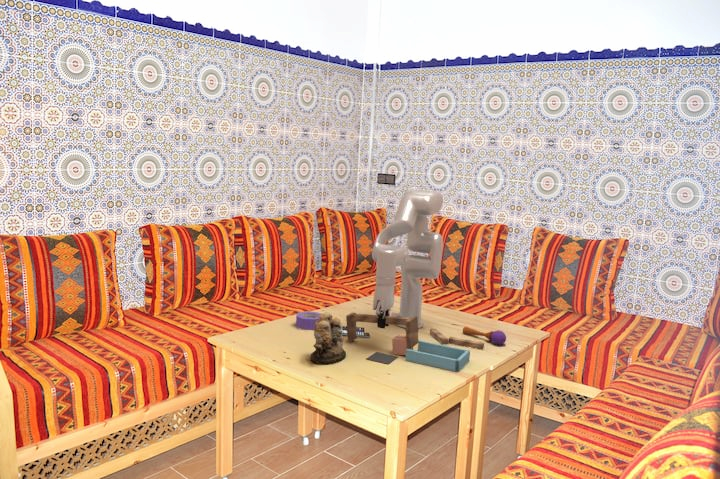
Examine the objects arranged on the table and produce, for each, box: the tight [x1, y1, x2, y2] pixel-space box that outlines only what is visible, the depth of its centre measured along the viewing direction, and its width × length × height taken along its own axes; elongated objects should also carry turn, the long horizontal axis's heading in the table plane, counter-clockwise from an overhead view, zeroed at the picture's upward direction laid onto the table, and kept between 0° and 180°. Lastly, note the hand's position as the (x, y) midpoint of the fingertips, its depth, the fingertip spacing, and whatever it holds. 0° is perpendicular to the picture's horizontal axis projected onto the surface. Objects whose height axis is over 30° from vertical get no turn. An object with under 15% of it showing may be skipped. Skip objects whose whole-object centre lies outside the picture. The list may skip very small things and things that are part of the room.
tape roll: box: [295, 311, 322, 331], centre depth 249 cm, size 12×12×5 cm
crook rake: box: [345, 312, 419, 349], centre depth 224 cm, size 28×8×10 cm, turn 63°
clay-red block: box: [391, 334, 414, 356], centre depth 220 cm, size 6×6×6 cm
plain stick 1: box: [429, 328, 449, 345], centre depth 240 cm, size 14×2×2 cm, turn 14°
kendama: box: [462, 326, 507, 346], centre depth 242 cm, size 6×6×20 cm
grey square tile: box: [365, 351, 399, 365], centre depth 214 cm, size 9×9×1 cm
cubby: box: [405, 339, 471, 373], centre depth 214 cm, size 20×13×4 cm, turn 63°
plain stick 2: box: [448, 336, 485, 350], centre depth 233 cm, size 14×2×2 cm, turn 66°
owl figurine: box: [309, 312, 347, 366], centre depth 210 cm, size 18×12×17 cm, turn 157°
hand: (383, 326), depth 224 cm, fingers closed on crook rake, 2 cm apart
